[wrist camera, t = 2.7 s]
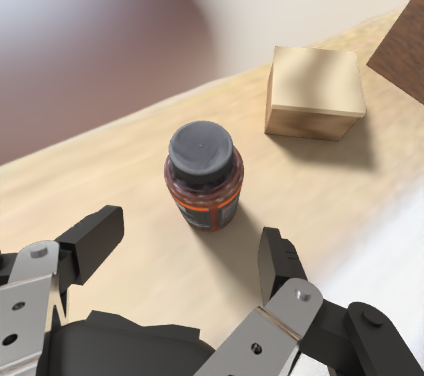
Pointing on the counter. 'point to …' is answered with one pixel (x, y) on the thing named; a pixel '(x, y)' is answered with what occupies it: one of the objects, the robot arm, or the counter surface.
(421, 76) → the tissue box cover
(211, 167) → the supplement bottle
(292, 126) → the pedestal
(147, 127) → the counter surface
